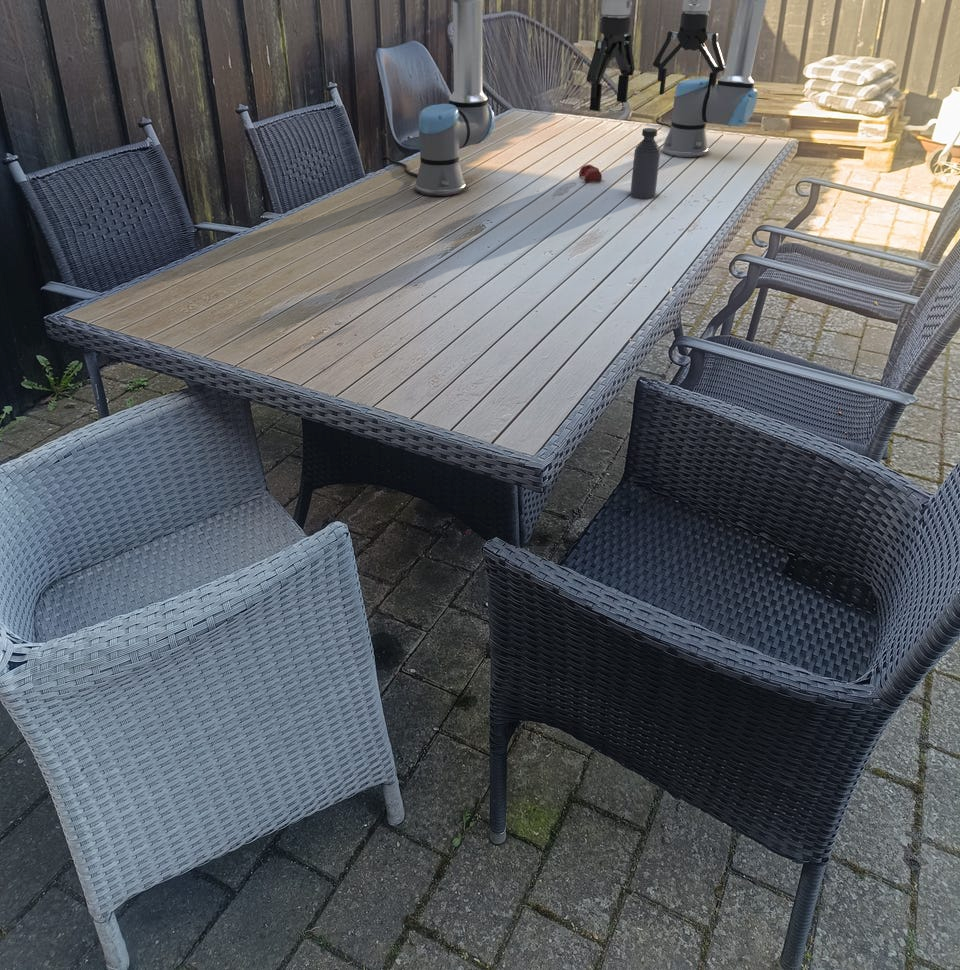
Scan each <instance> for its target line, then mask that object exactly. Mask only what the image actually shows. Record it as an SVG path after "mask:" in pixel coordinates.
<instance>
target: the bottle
mask: <svg viewBox="0 0 960 970" xmlns="http://www.w3.org/2000/svg"><path fill="white" fill-rule="evenodd" d="M660 160H661V147H659V145H658V142H656V140H655V137H645V136H643V139H642V140H641V141H640V142H639V143H638V145H637V146H635V149H634V155H633V163H632V173H631V183H630V193H629V194H630V196H631V197H632V198H636V199H640V200H646V199H647V200H648V199H652V198H653V199H654V198H655V197H656V192H657V184H658V175H659V167H660Z"/></svg>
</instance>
